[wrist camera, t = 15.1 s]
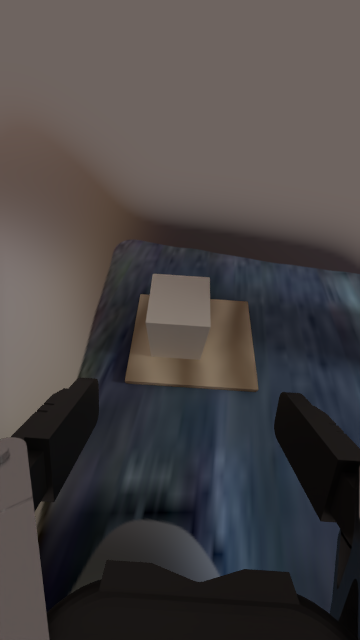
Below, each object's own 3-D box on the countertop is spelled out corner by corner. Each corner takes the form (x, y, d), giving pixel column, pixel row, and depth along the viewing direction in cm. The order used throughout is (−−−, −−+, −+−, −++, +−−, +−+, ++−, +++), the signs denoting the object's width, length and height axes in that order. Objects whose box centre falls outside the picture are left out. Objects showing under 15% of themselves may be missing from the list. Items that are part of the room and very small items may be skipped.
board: (245, 305, 35) (247, 301, 34) (255, 391, 28) (258, 389, 27) (141, 298, 35) (140, 294, 34) (126, 383, 28) (124, 381, 27)
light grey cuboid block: (200, 318, 32) (209, 277, 25) (200, 359, 29) (210, 326, 22) (156, 315, 32) (153, 273, 25) (151, 356, 29) (145, 322, 22)
